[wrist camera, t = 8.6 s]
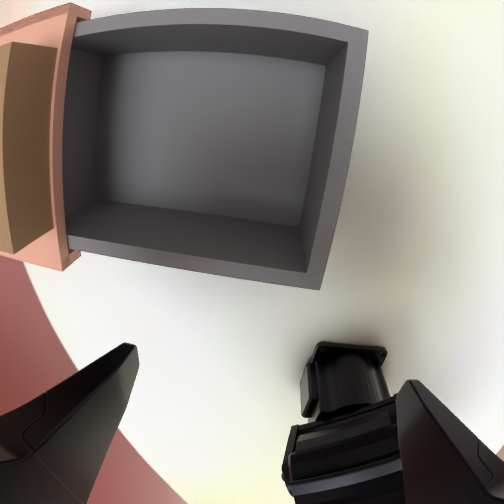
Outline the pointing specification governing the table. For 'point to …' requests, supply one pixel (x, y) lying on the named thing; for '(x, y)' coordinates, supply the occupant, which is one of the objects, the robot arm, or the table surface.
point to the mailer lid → (35, 135)
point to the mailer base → (211, 139)
